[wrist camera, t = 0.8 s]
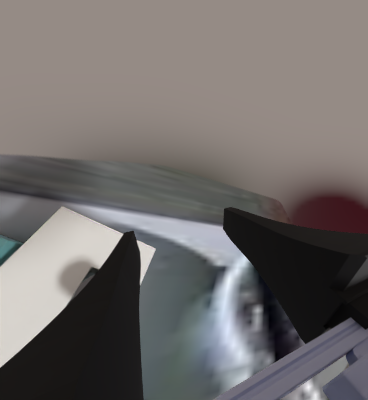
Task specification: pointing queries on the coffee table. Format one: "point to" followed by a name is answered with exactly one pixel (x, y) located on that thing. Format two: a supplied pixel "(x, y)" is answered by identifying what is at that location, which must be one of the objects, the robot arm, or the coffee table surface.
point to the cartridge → (6, 247)
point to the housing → (52, 274)
